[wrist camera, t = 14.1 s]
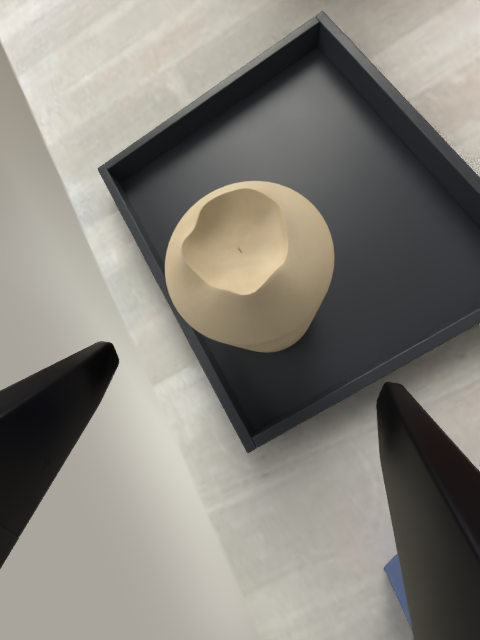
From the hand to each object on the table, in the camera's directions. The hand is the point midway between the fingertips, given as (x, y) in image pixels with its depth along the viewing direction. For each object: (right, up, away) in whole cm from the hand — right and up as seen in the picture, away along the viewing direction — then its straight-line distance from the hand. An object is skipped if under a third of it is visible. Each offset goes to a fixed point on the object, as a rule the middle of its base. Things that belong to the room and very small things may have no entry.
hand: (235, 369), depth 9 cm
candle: (+2, +2, +8) cm, 9 cm away
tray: (+3, +8, +9) cm, 13 cm away
